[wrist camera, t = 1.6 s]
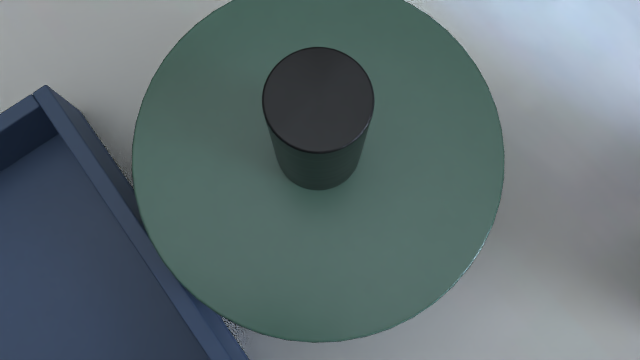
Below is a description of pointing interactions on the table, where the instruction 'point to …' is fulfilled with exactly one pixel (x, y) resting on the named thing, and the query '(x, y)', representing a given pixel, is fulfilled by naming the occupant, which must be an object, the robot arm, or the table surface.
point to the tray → (85, 253)
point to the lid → (318, 165)
